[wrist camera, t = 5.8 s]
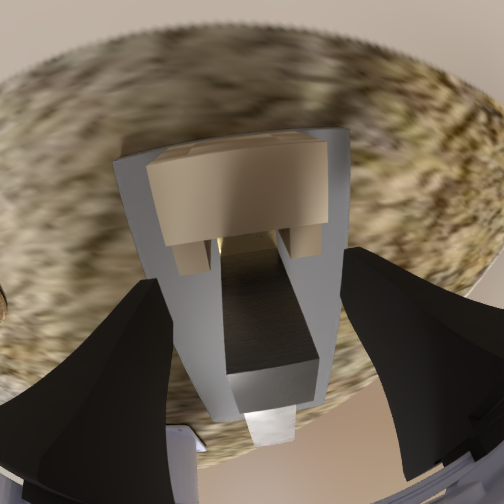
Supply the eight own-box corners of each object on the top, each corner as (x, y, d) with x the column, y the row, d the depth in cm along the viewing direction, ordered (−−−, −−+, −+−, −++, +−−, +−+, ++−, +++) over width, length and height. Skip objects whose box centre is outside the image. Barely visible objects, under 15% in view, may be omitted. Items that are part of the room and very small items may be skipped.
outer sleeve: (250, 415, 21) (255, 447, 18) (236, 361, 16) (240, 403, 14) (287, 409, 21) (294, 440, 18) (285, 353, 17) (296, 394, 14)
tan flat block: (249, 379, 17) (263, 475, 11) (212, 191, 10) (208, 315, 4) (278, 374, 17) (300, 468, 11) (263, 184, 10) (325, 296, 5)
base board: (213, 413, 22) (213, 422, 21) (119, 157, 11) (112, 161, 10) (321, 395, 22) (323, 404, 21) (340, 126, 11) (349, 129, 10)
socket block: (187, 237, 12) (177, 286, 9) (168, 147, 10) (146, 166, 7) (298, 220, 12) (326, 263, 9) (293, 130, 10) (326, 141, 7)
